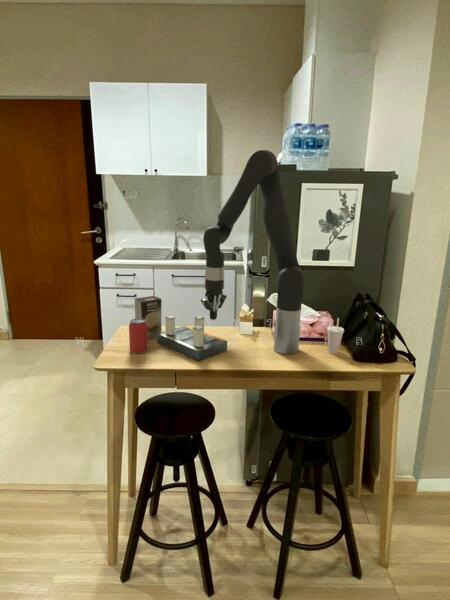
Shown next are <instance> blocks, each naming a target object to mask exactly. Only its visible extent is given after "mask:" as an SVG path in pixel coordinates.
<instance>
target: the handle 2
mask: <svg viewBox="0 0 450 600" xmlns="http://www.w3.org/2000/svg"><path fill="white" fill-rule="evenodd" d="M192 328H193V345H194V346H197V347H201V346H203V337H204V332H205V327H204V328H203V327H200V326H195V325H194V326H192Z"/></svg>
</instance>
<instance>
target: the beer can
mask: <svg viewBox="0 0 450 600" xmlns="http://www.w3.org/2000/svg"><path fill="white" fill-rule="evenodd" d="M128 334H129V336H128V337H129V338H128V341H129V351H130V352H131V353H133V354H143V353H146V352H147V351H148V347H149V345H148V339H147V324H146V322H145V320H144V319H141V318H136V319H135V318H132V319H130V320H129V324H128Z"/></svg>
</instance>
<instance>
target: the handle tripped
mask: <svg viewBox="0 0 450 600" xmlns="http://www.w3.org/2000/svg"><path fill="white" fill-rule="evenodd" d="M195 326H200V327H203V328H204V329H205V317H204V316H201V315H197V316H194V327H195Z"/></svg>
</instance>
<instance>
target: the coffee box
mask: <svg viewBox="0 0 450 600" xmlns="http://www.w3.org/2000/svg"><path fill="white" fill-rule="evenodd" d="M136 318H141V319H144V320H145V322H146V324H147V340H148V339H151V338H157V334H158V333H161V332H163V330H162V298H160V297H158V296H155V295H151V296H144V297H136V298H134V319H136Z"/></svg>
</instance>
